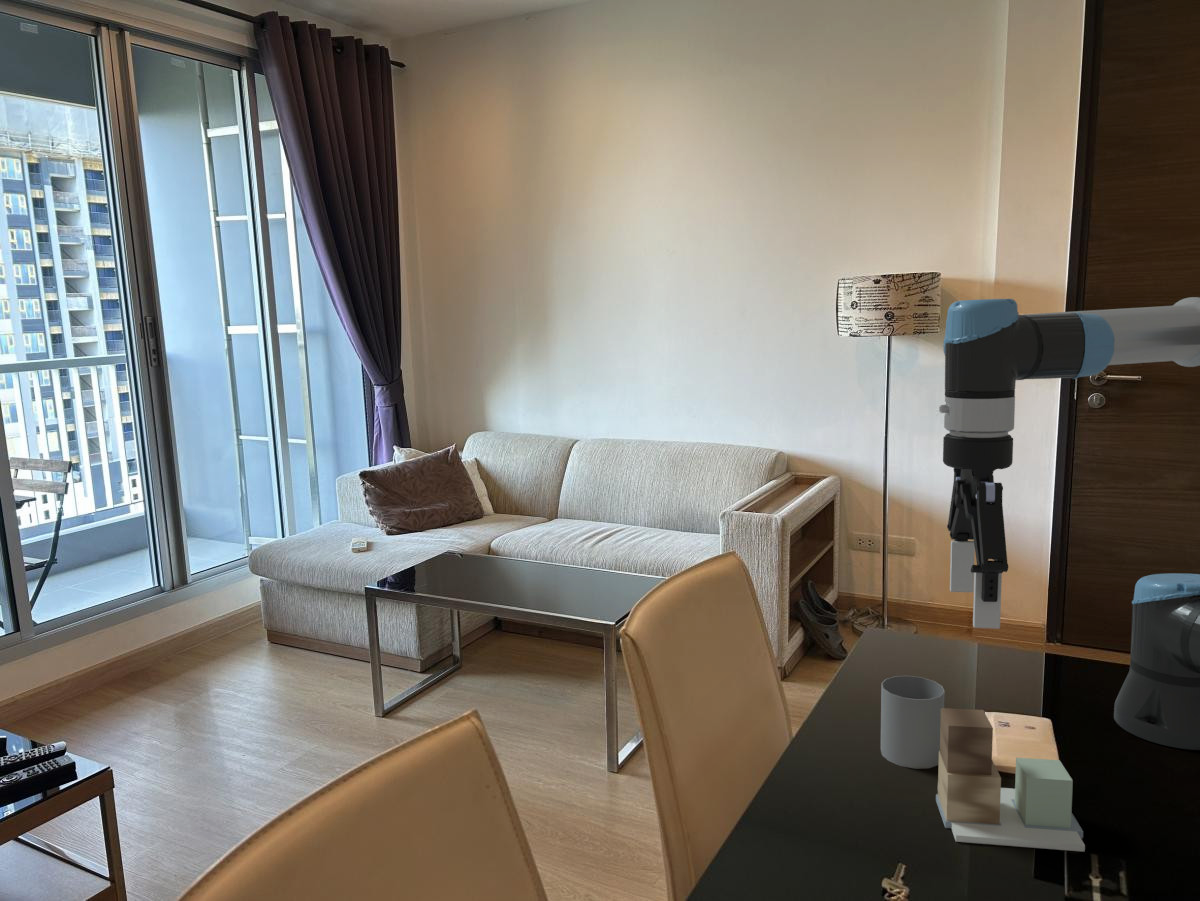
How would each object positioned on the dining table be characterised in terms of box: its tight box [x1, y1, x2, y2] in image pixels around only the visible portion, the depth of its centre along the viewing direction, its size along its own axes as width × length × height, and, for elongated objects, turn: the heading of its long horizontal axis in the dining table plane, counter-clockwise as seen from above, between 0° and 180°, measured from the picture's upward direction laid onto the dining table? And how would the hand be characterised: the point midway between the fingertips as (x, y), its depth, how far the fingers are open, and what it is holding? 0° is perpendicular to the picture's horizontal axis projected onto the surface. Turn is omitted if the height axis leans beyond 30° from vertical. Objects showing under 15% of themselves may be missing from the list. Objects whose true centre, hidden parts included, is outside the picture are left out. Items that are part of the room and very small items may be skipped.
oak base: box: [937, 751, 1002, 825], centre depth 109 cm, size 6×6×6 cm
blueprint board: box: [935, 787, 1086, 853], centre depth 108 cm, size 15×12×1 cm
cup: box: [880, 675, 946, 770], centre depth 125 cm, size 8×8×10 cm
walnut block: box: [940, 707, 994, 775], centre depth 108 cm, size 5×5×6 cm
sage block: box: [1014, 757, 1074, 828], centre depth 107 cm, size 5×5×6 cm
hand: (973, 608), depth 106 cm, fingers open, 13 cm apart
